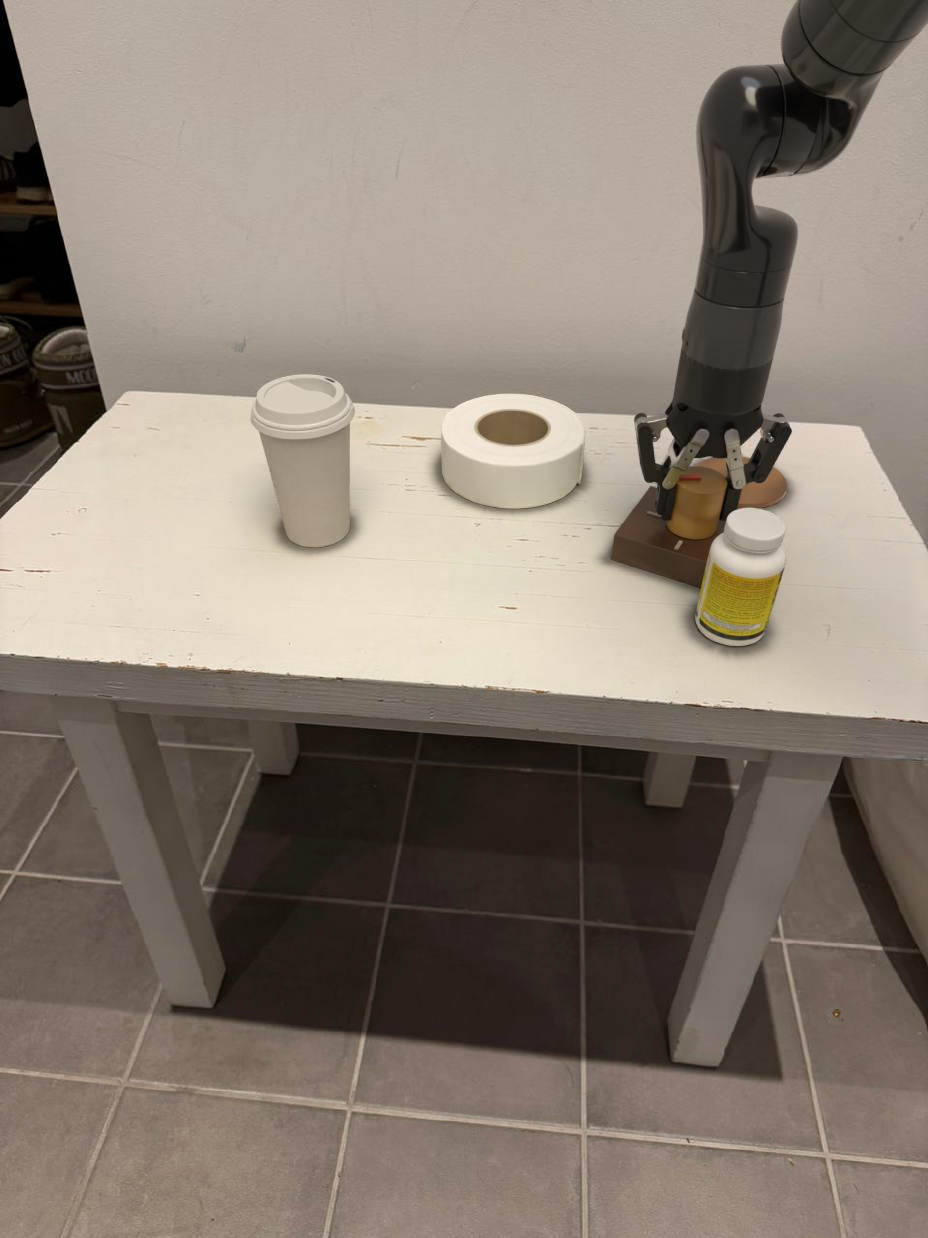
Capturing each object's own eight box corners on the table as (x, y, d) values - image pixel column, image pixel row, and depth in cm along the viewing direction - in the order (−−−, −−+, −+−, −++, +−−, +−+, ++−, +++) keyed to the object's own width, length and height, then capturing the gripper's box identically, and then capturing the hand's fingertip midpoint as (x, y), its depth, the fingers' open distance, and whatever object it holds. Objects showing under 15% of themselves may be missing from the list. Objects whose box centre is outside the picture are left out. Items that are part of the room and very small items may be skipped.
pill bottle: (776, 646, 75) (809, 542, 68) (707, 652, 75) (733, 548, 67) (749, 601, 80) (777, 499, 73) (684, 606, 79) (706, 504, 72)
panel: (760, 542, 87) (767, 516, 85) (731, 597, 80) (738, 570, 78) (646, 509, 91) (650, 484, 89) (610, 559, 85) (614, 532, 83)
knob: (710, 511, 86) (721, 462, 82) (721, 539, 82) (733, 490, 78) (662, 511, 86) (670, 462, 82) (671, 539, 82) (680, 490, 78)
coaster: (795, 474, 97) (797, 469, 96) (772, 518, 90) (774, 513, 90) (708, 452, 100) (709, 447, 100) (680, 492, 94) (681, 487, 94)
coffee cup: (378, 541, 87) (368, 404, 77) (287, 566, 84) (264, 426, 74) (345, 495, 93) (332, 362, 84) (259, 516, 90) (234, 382, 80)
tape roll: (573, 517, 90) (578, 470, 87) (426, 500, 93) (425, 453, 89) (588, 443, 102) (593, 400, 98) (457, 430, 104) (457, 386, 101)
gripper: (648, 365, 69) (623, 539, 80) (828, 365, 69) (778, 539, 80) (635, 327, 75) (614, 494, 86) (801, 327, 75) (758, 494, 86)
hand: (693, 515), depth 83 cm, fingers closed on knob, 5 cm apart
